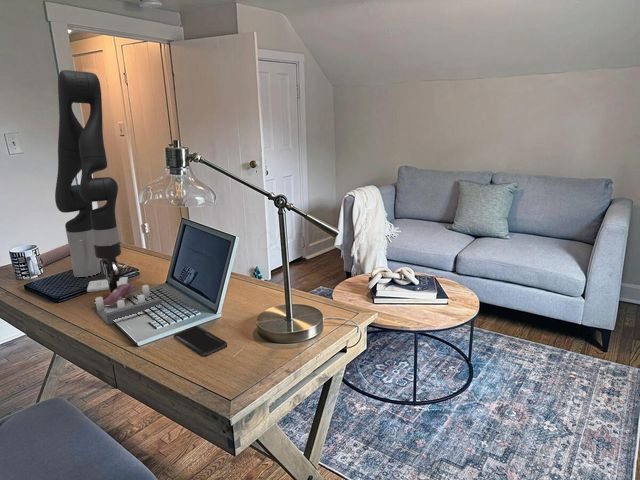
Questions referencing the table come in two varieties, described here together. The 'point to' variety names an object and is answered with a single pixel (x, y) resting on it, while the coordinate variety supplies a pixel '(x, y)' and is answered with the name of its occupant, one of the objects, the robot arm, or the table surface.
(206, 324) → the table surface
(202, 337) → the phone
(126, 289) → the purple rounded block
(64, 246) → the pink brown cylinder
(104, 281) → the external hard drive
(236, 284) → the table surface
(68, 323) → the table surface
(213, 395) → the table surface
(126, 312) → the dock
